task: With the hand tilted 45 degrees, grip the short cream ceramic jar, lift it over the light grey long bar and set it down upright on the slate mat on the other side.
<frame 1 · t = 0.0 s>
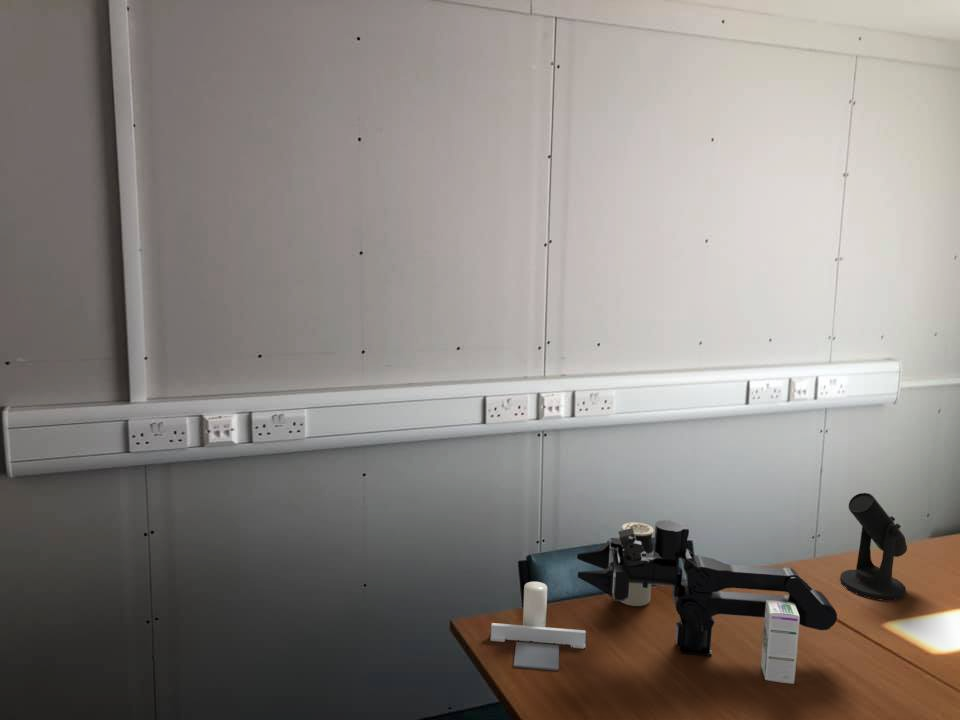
hand: (577, 565, 163), 17 cm above the table, tool horizontal, fingers open, 9 cm apart
light grey long bar: (537, 640, 164), on the table
syrup box: (776, 675, 154), on the table
slate mat: (536, 656, 158), on the table
travel mug: (632, 600, 184), on the table
microphone: (871, 587, 195), on the table
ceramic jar: (534, 629, 169), on the table
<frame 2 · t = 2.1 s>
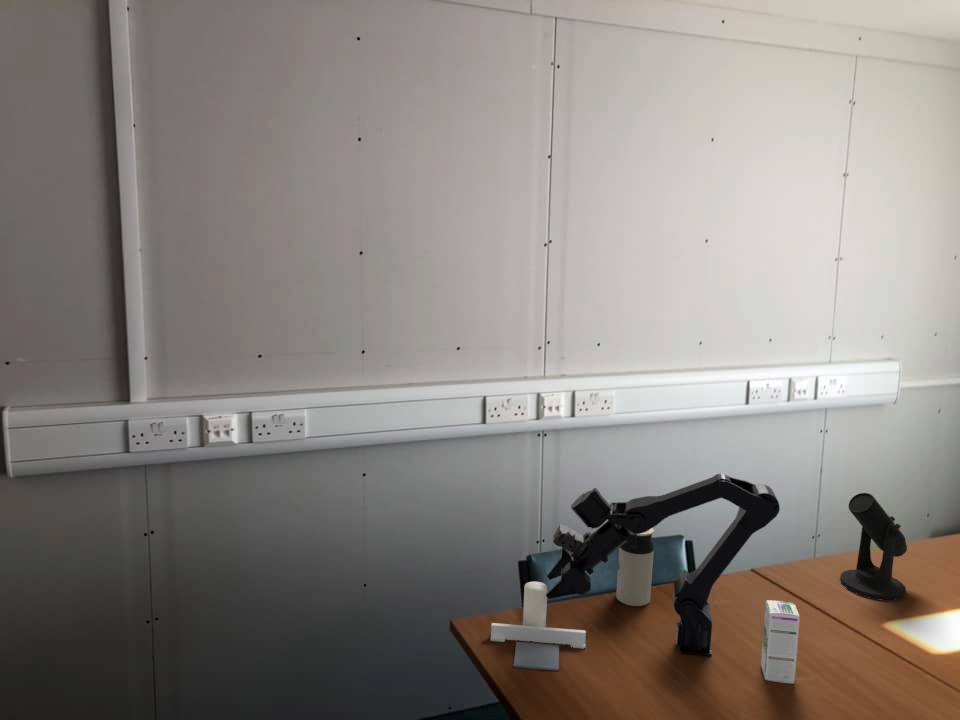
hand: (547, 587, 167), 10 cm above the table, tool tilted 45°, fingers open, 9 cm apart
nothing on the table moved.
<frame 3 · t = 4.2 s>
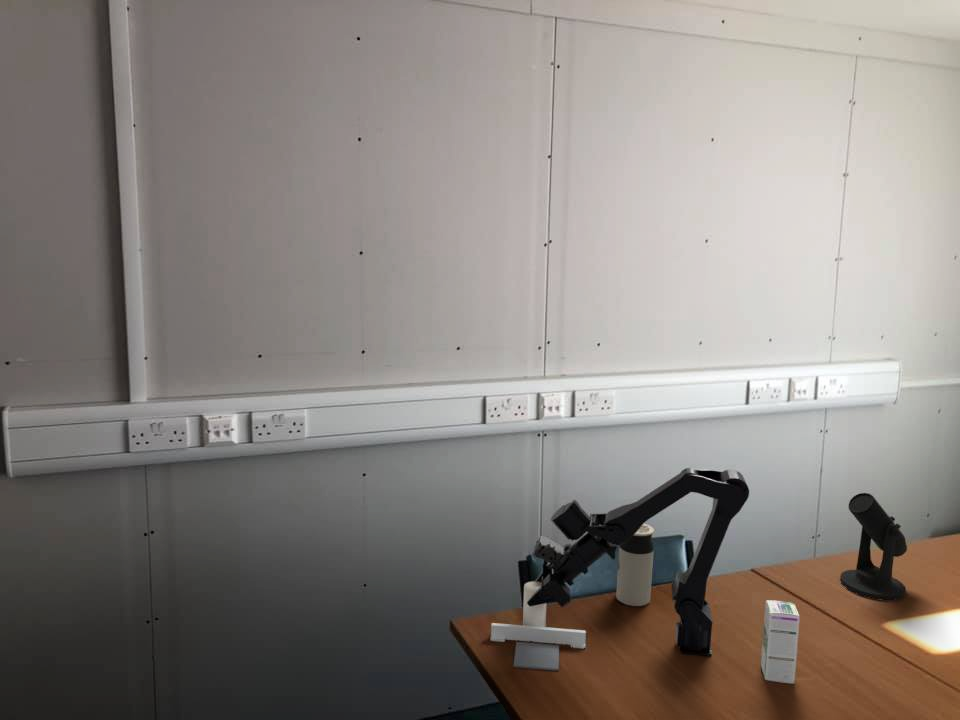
hand: (528, 598, 168), 7 cm above the table, tool tilted 45°, fingers closed on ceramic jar, 5 cm apart
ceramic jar: (534, 629, 169), on the table, touching gripper
everything else where it was.
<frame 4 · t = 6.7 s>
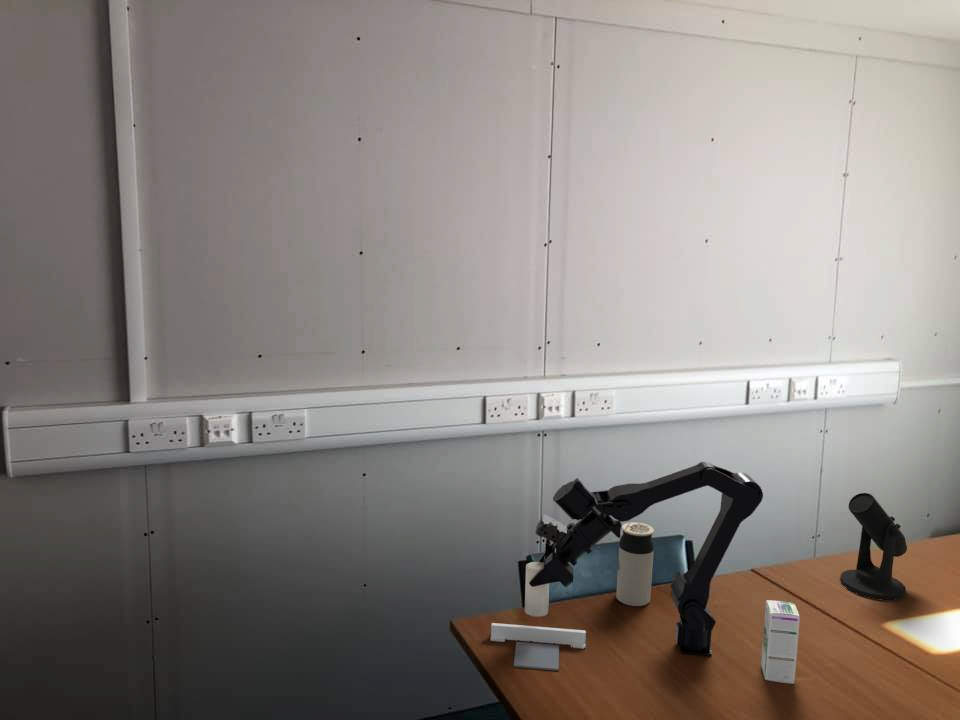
hand: (531, 579, 163), 13 cm above the table, tool tilted 45°, fingers closed on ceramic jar, 5 cm apart
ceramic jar: (536, 610, 164), point 6 cm above the table, touching gripper
everything else where it was.
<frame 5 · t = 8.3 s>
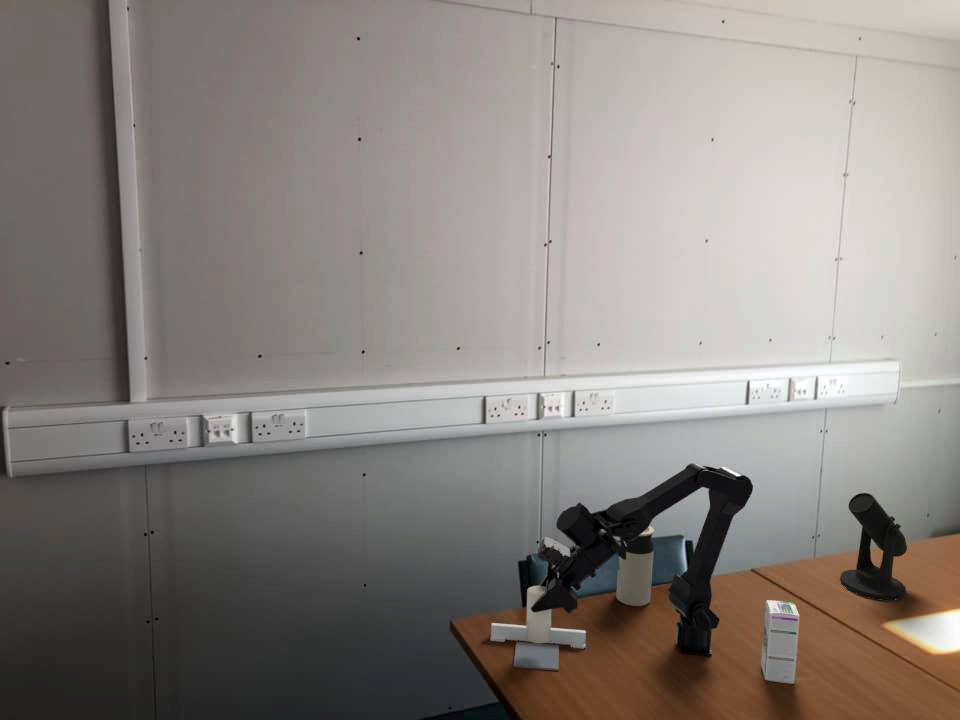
hand: (532, 604, 156), 11 cm above the table, tool tilted 45°, fingers closed on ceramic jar, 5 cm apart
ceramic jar: (538, 636, 157), point 4 cm above the table, touching gripper
everything else where it was.
when the fingers open (8 cm above the table, at t = 9.7 s): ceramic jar stays where it is, resting on slate mat.
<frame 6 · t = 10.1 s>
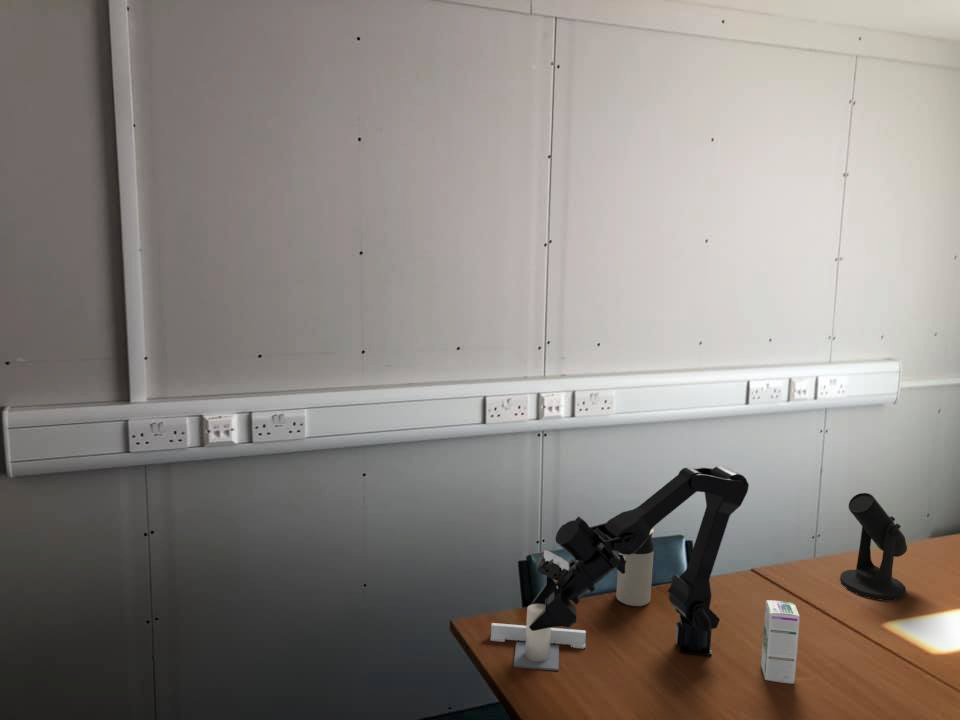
hand: (531, 617, 157), 9 cm above the table, tool tilted 45°, fingers open, 9 cm apart
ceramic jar: (537, 655, 158), resting on slate mat
everything else where it was.
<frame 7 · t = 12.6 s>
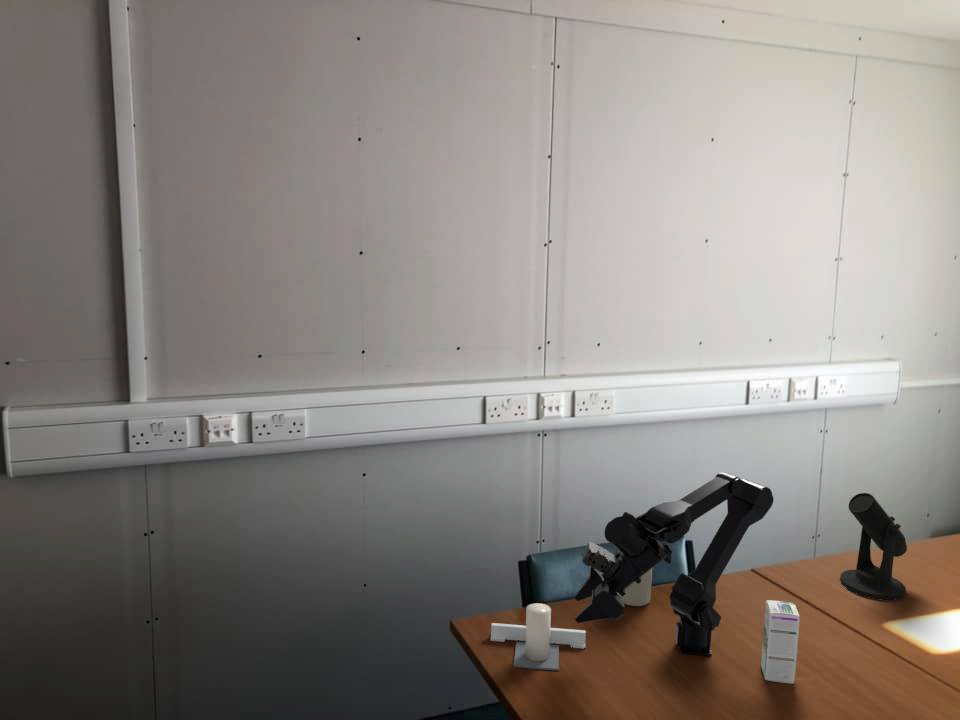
hand: (576, 609, 155), 11 cm above the table, tool tilted 45°, fingers open, 9 cm apart
nothing on the table moved.
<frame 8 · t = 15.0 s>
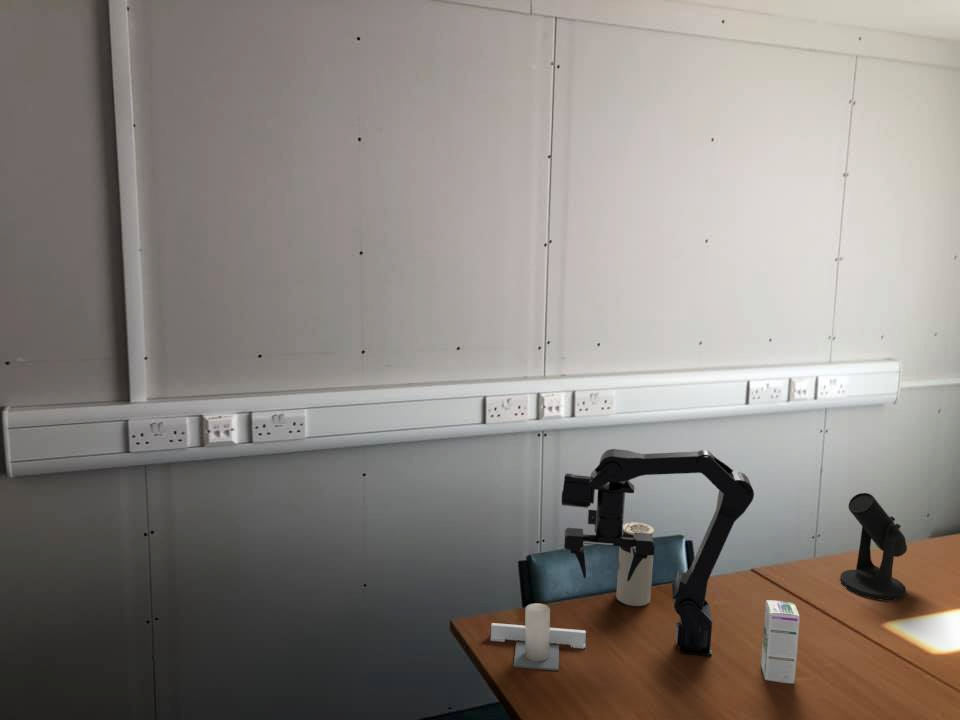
hand: (606, 578, 165), 13 cm above the table, tool pointing down, fingers open, 9 cm apart
nothing on the table moved.
at the end: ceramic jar 0.1 cm off-centre on the slate mat, point 0.5 cm above the slate mat's base; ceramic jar tilted 2°; the gripper is holding nothing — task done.
